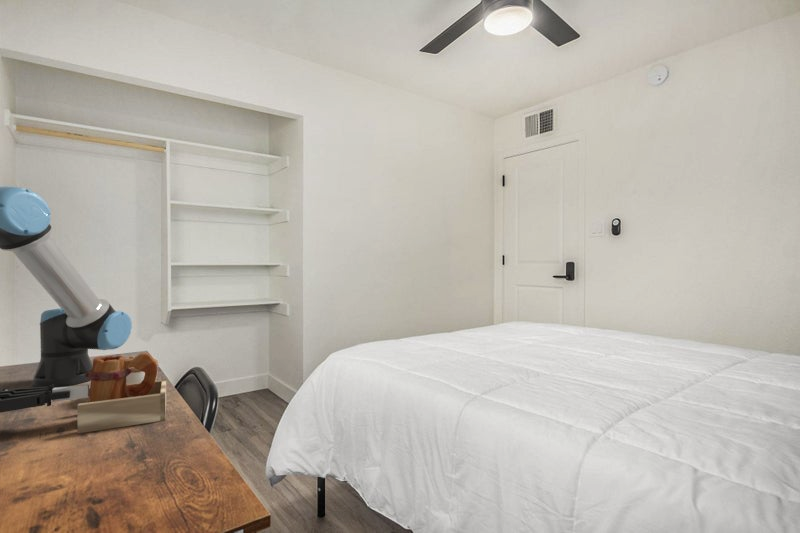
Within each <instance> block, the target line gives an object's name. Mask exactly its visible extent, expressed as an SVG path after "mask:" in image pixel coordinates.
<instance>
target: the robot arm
mask: <svg viewBox="0 0 800 533" xmlns="http://www.w3.org/2000/svg"><path fill="white" fill-rule="evenodd" d="M50 215H51V210H50V207H49V205H48V203H47V202H46V201H45V200H44V198H43V197H42V196H40V195H39V194H37V192H34V191H32V190H30V189H26V188H23V187H18V186H17V187H15V186H8V185H7V186H0V250H2V251H7V252H12V253H13V254H14V255H15V256H16V258H17V259H18V260H19V261H20V262H21V263H22V264H23V266H25V268H26V269H27V270H28V271H29V272H30V274H31V275H32V277H34V278H35V280H36V281H37V282H38V283H39V285H41V287H43V289H44V290H45V291H46V292H47V294H48V295H49V296H50V297H51V298H52V299H53V301H54V302H55V303H56V304H57V305H58V306H59V308H54V309H46V310H44V311H43V312H41V314H40V322H39V325H40V328H39V329H40V330H39V332H40V333H39V334H40V359H39V362H38V365H37V367H36V370H35V373H34V375H33V377H32V378H33V379H32V385H33V386H32V387H31V386H30V387H17V388H16V387H14V388H13V387H11V388H10V387H5V388H2V390H0V413H6V412H11V411H18V410H23V409H24V410H25V409H31V408H36V407H43V406H45V405H46V407H51V405H52V403H53V402H61V401H62V402H63V401H69V400H78V399H86V398H88V399H89V389H90V383H89V384H88V383H87V384H81V383H85V382H87V381H91V380H90V379H89V378H88V377H86V376H85V375H86V373H88V372H89V371H90V370H92V367H93V362H92V361H91V358H90V356H89V350H99V351H101V350H102V351H108V350H116V349H119V348H120V347H122V346H123V345H124V344H125V343H126V342H127V341H128V339H129V337H130V335H131V333H132V328H133V326H132V320H131V317H130V315H129V314H128V313H127V312H125V311H122V310H115V309H114V308H113V306H112V305H111V304H110V302H109V301H108V300H107V299H104V298H98V296H97V295H96V293H95V292H94V291H93V290H92V288H91V287H90V286H89V284H88V283H87V282H86V281H85V279H84V277H82V275H81V274H80V273H79V271H78V270H77V269H76V267H75V266H74V265H73V264H72V262H71V261H70V259H69V258H68V257H67V256H66V255H65V253H64V252H63V251H62V249H61V248H60V247H59V245H58V244H57V243H56V241H55V240H54V239H53V238H52V236H51V232H52V230H53V227H52V226H51V224H50V223H51V220H52V218H51V217H50ZM76 384H80V385H76Z"/></svg>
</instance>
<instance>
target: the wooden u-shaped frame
mask: <svg viewBox="0 0 800 533" xmlns="http://www.w3.org/2000/svg"><path fill="white" fill-rule="evenodd" d="M139 384H141V382H138V383H130V384H127V385H131V386H137V385H139ZM127 396H128V398H120V399H113V400H105V401H97V402H89V401H88V402H89V403H87V402H82V403H78V404H77V434H83V433H90V432H95V431H96V432H97V431H103V430H109V429H117V428H122V427H128V426H135V425H141V424H142V425H143V424H150V423H156V422H161V421H165V420H166V411H167V379H158V380H157V379H156V381H155V383H154V386H153V387H152V389H151V390H150V391H149V392H148V394H146V395H144V396H136V397H133V396H131V395H130V394H128V393H127ZM89 398H90V388H89V397H88V399H89Z"/></svg>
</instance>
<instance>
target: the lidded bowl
mask: <svg viewBox="0 0 800 533" xmlns="http://www.w3.org/2000/svg"><path fill="white" fill-rule="evenodd" d="M135 357H136V356H135V355H130V356H129V359H132V358H135ZM154 360H155V361H156V364H157V367H158V366H159V361H158V359H155V358H154ZM158 368H159V367H158ZM129 369H130V370H131V371H132V372H131V373H130V374H129V375H128V376H127V377H126V384H130V383H138V382H142V381H143V380H144V376H145V372H143V371H141V370H138V369H136V368H134V367H131V368H129ZM158 372H159V371H157V374H158ZM157 378H158V376H157V377H156V380H157ZM156 380H155V381H156Z"/></svg>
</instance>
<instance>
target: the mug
mask: <svg viewBox="0 0 800 533" xmlns="http://www.w3.org/2000/svg"><path fill="white" fill-rule="evenodd" d="M154 359H155V358H154V357H153V356H152V355H151V354H150V353H148V352H141V353H139V354H138V355H136V356H135V358H132V359H130V358H126V357H125V356H123V355H117V356H114V355H108V356H97V357H94V358H93V361H92V365H93V367H92V370H90V371H89V372H88V373H86V375H85V376H86V377H88V378H89V379H90V380H89V381H90V383H89V389H90V398H89V397H88V401H87V402H86V403H89V402H97V401H105V400H113V399H120V398H128V396H127V393H128V394H130V395H131V396H133V397H136V396H144V395H146V394H148V392H149V391H150V390H151V389H152V387H153V386H154V383H155V380H157V378H158V373H157V371H158V368H159V367H157V364H156V361H155V360H154ZM131 367H134V368H136V369H138V370H141V371H143V372H145V376H144V380H143V381H142V382H141V384H139V385H137V386H131V385H127V384H126V377H127V376H128V375H129V374H130V373H131V372H132V371H131V370H130V369H129V368H131ZM158 372H159V371H158ZM156 377H157V378H156Z"/></svg>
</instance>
